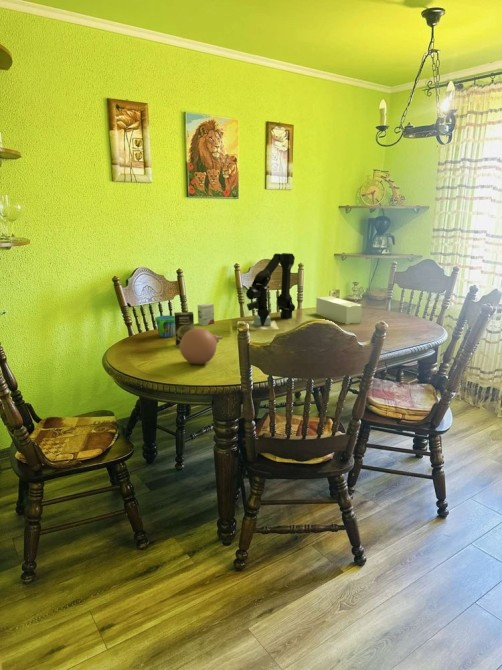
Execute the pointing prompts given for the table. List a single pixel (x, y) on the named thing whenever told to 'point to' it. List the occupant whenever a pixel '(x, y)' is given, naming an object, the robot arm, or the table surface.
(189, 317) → the coffee box
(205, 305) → the ink box
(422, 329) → the table surface
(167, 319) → the snack cup
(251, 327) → the maple board
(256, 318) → the block
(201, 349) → the balloon
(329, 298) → the stack of papers
